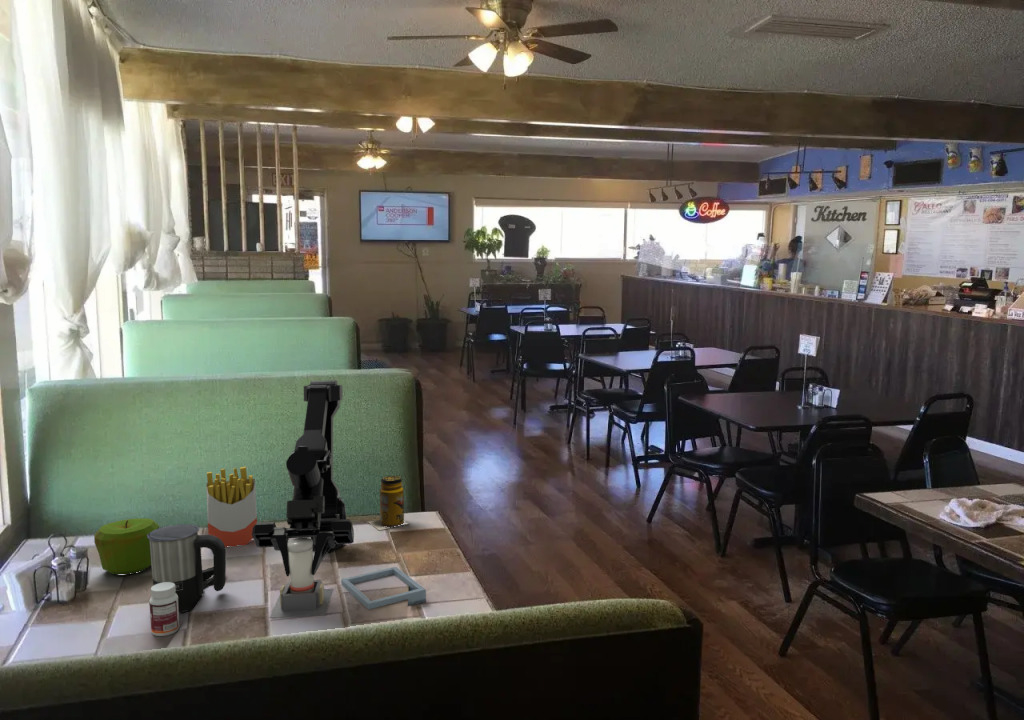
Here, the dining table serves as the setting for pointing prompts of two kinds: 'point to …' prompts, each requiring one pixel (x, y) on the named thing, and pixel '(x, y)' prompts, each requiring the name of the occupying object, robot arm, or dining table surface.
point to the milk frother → (186, 562)
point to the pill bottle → (164, 609)
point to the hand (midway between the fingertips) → (300, 574)
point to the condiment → (390, 503)
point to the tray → (413, 595)
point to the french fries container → (231, 507)
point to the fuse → (301, 565)
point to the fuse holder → (302, 602)
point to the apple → (125, 545)
